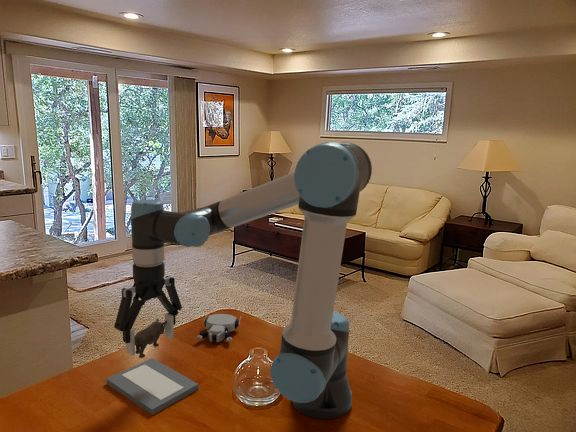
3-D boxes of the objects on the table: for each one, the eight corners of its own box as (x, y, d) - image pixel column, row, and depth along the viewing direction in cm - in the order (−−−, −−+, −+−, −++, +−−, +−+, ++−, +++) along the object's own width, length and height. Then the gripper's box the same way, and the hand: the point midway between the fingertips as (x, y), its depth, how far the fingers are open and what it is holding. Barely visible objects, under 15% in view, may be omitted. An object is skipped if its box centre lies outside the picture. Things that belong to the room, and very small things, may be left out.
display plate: (198, 389, 113) (198, 383, 113) (152, 415, 102) (152, 409, 102) (152, 362, 125) (152, 357, 125) (106, 383, 114) (106, 378, 114)
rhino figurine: (173, 334, 118) (173, 314, 117) (144, 359, 105) (143, 336, 104) (159, 332, 119) (159, 312, 118) (129, 356, 106) (128, 333, 105)
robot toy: (233, 349, 137) (241, 325, 151) (232, 336, 135) (241, 313, 150) (194, 346, 138) (207, 323, 152) (194, 333, 136) (206, 311, 151)
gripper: (177, 250, 119) (178, 326, 123) (95, 269, 101) (99, 357, 105) (195, 256, 114) (195, 334, 118) (113, 277, 96) (117, 368, 100)
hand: (150, 345), depth 112 cm, fingers closed on rhino figurine, 11 cm apart
